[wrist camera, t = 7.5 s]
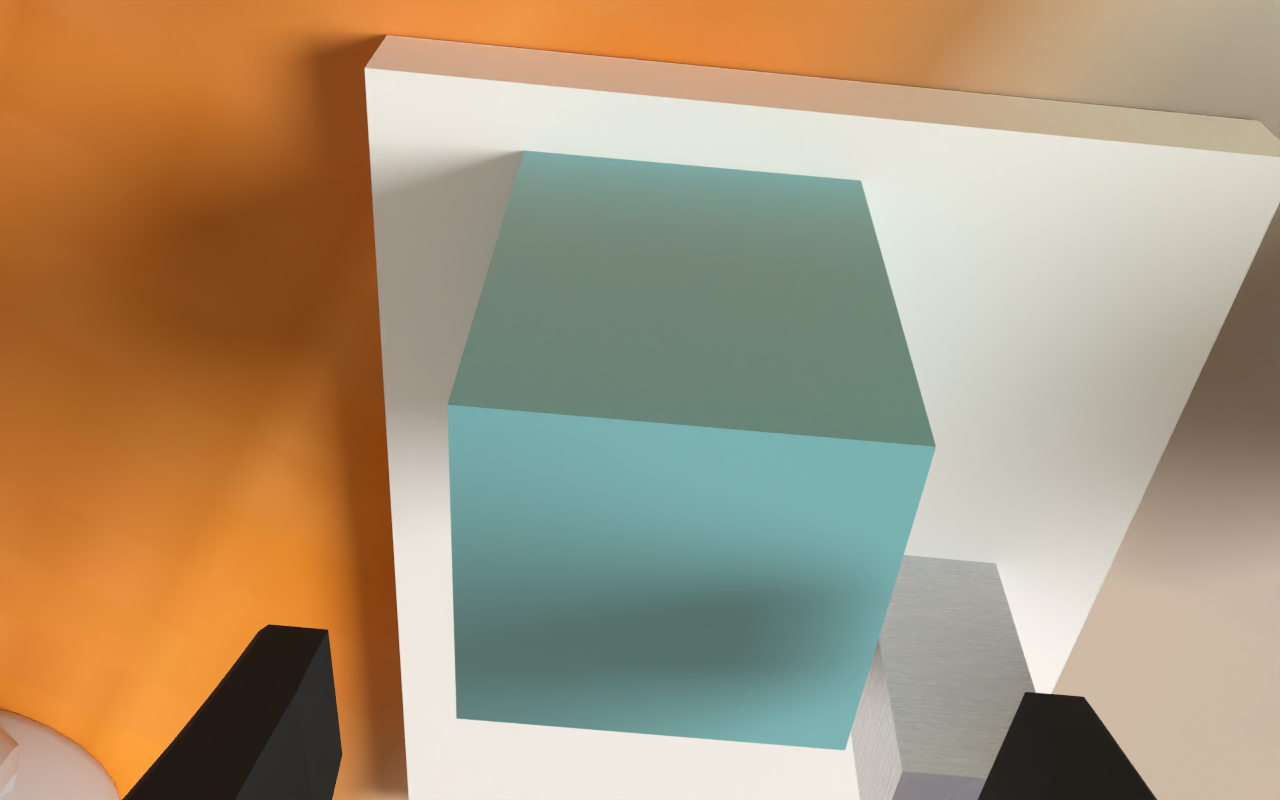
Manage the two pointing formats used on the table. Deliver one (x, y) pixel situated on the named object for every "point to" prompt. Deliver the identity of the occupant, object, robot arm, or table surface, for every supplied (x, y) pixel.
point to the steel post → (939, 684)
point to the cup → (47, 764)
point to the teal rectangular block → (680, 455)
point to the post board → (927, 306)
